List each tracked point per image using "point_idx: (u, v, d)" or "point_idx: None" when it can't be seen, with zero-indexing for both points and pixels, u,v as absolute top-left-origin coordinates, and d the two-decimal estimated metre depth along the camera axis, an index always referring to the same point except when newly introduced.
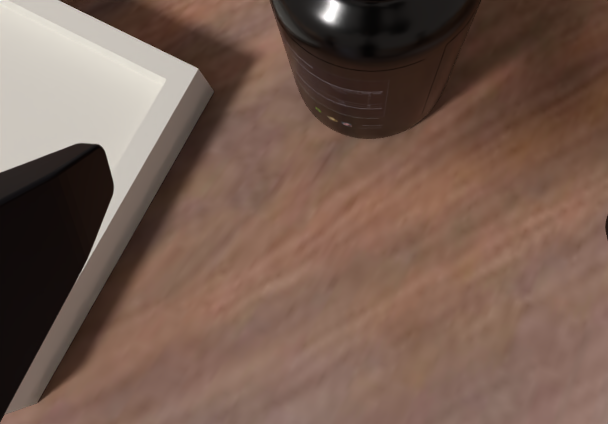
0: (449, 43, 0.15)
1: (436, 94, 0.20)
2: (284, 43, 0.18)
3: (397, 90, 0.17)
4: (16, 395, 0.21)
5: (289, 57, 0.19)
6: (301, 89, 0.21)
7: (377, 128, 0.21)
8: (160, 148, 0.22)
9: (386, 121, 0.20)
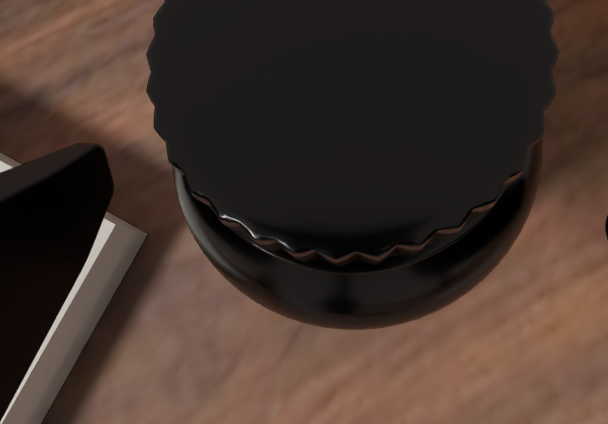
0: None
1: None
2: None
3: None
4: None
5: None
6: None
7: None
8: (65, 331, 0.16)
9: None
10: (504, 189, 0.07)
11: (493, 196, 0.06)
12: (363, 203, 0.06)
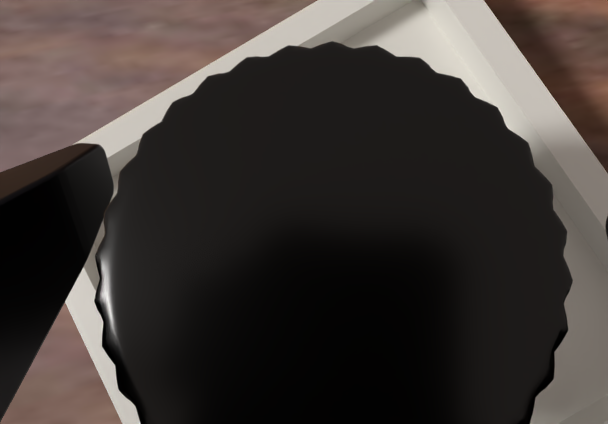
0: None
1: None
2: None
3: None
4: None
5: None
6: None
7: None
8: None
9: None
10: None
11: None
12: None
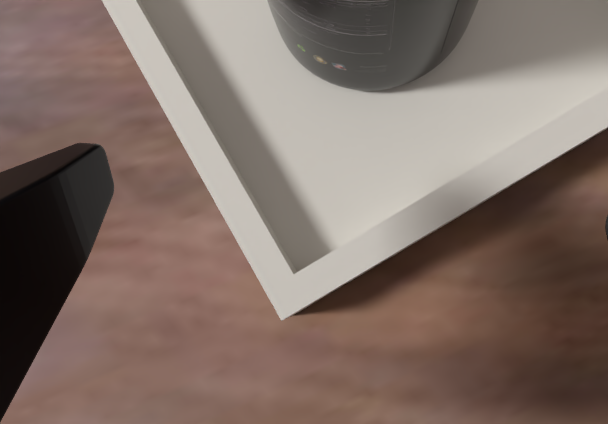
0: None
1: (462, 21, 0.15)
2: None
3: None
4: (306, 305, 0.16)
5: None
6: (277, 19, 0.16)
7: (381, 72, 0.16)
8: None
9: (394, 60, 0.15)
10: None
11: None
12: None
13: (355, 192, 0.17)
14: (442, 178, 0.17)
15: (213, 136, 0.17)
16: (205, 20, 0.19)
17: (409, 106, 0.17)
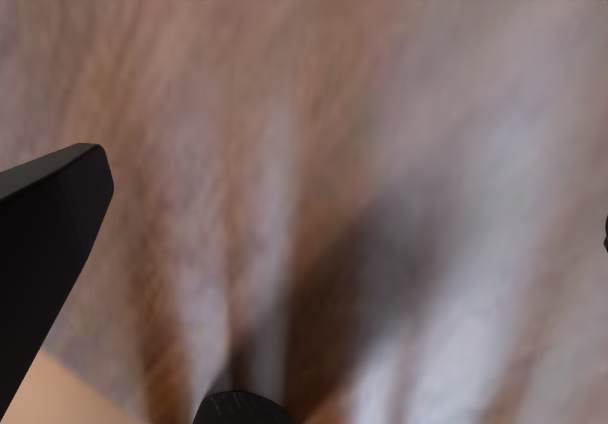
0: None
1: None
2: None
3: None
4: None
5: None
6: None
7: None
8: None
9: None
10: None
11: None
12: None
13: None
14: None
15: None
16: None
17: None
